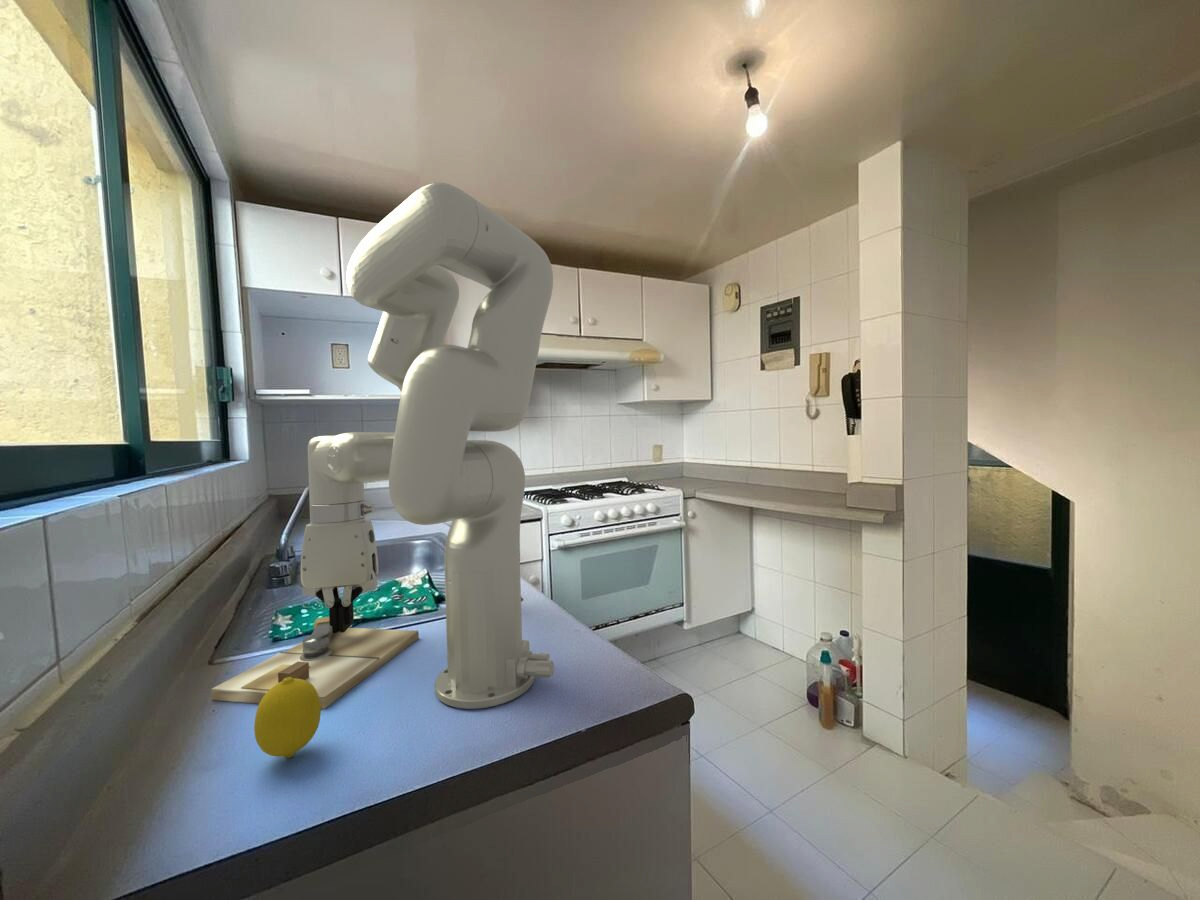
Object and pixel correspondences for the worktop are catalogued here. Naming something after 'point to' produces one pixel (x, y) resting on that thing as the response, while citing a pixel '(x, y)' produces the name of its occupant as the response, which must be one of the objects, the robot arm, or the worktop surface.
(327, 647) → the lock bar
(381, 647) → the board
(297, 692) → the lemon
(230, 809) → the worktop surface
